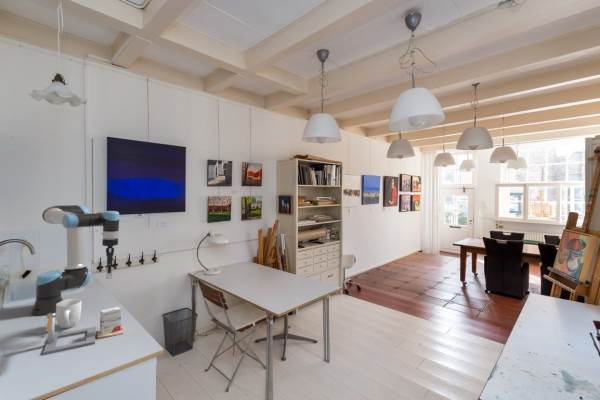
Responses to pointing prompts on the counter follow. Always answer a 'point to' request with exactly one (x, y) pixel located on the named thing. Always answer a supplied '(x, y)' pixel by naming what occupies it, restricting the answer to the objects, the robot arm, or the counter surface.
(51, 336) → the stand
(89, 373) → the counter surface
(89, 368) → the counter surface
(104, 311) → the ink box
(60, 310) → the mug
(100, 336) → the pad
